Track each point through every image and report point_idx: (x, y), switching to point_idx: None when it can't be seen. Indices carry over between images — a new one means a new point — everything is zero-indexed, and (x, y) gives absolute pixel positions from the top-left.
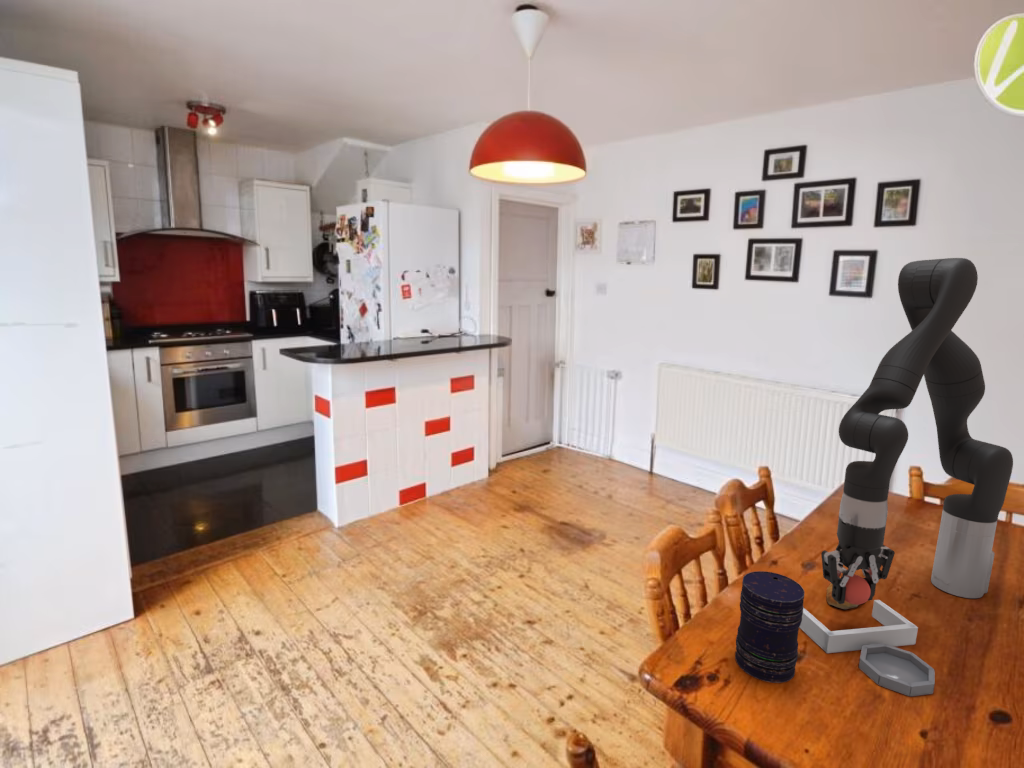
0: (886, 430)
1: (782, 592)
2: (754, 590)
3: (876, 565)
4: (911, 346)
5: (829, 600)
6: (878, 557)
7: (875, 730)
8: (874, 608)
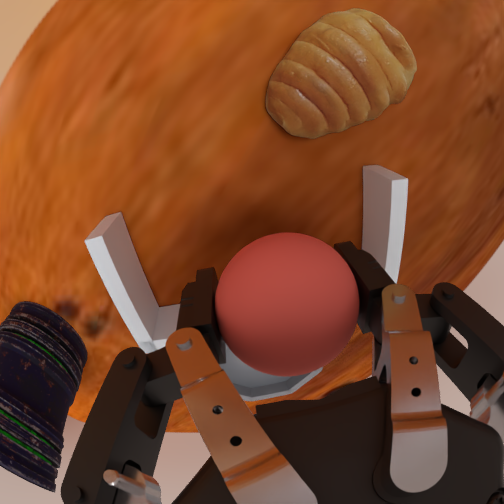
0: None
1: (21, 475)
2: None
3: (459, 328)
4: None
5: (268, 98)
6: (487, 365)
7: (169, 417)
8: (377, 179)
